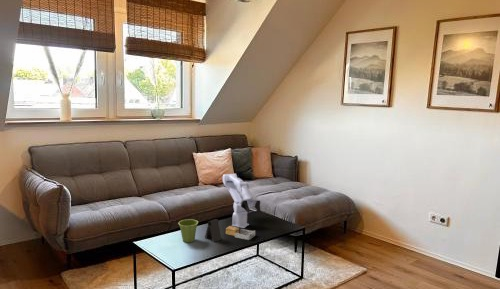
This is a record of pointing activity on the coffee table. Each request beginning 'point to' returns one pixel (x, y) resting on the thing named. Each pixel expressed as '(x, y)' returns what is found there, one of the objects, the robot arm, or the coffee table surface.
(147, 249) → the coffee table surface
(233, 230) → the block
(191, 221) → the plant pot
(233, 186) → the robot arm
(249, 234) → the coupler channel
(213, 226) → the dark tent-shaped stand
